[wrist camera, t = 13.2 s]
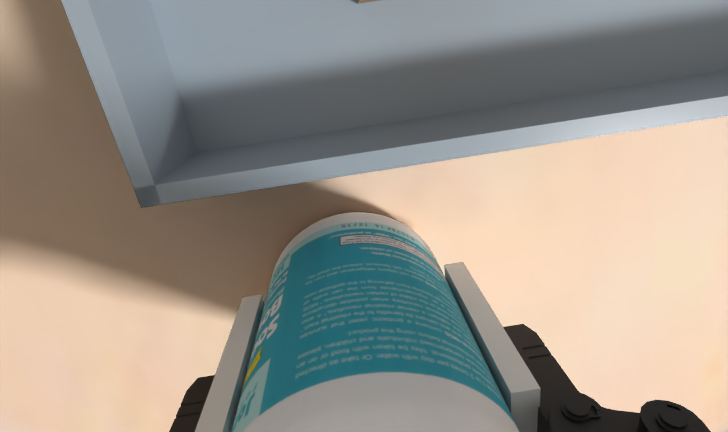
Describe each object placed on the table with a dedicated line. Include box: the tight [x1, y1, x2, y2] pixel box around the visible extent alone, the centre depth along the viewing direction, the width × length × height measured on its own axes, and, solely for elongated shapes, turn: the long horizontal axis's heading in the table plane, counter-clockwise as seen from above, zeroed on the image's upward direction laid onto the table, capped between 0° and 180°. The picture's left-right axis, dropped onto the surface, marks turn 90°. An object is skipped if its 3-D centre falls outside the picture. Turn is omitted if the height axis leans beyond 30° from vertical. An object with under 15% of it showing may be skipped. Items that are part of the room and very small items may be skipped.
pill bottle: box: [232, 212, 520, 432], centre depth 12 cm, size 8×7×14 cm
